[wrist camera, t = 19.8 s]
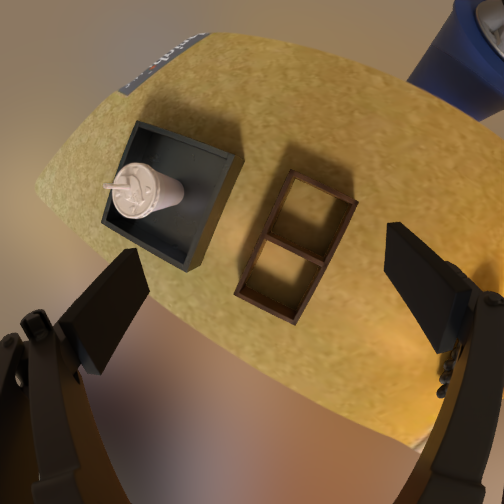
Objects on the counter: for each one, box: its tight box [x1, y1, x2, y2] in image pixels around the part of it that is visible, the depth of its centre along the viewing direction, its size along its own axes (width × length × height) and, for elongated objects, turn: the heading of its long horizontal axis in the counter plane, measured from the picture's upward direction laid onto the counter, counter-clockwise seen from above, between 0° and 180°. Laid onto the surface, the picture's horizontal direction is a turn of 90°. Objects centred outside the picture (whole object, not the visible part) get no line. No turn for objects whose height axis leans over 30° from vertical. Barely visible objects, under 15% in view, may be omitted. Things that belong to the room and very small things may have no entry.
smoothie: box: [103, 163, 184, 219], centre depth 32 cm, size 6×6×14 cm
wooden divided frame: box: [233, 169, 359, 325], centre depth 35 cm, size 9×17×4 cm, turn 155°
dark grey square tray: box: [101, 120, 245, 273], centre depth 37 cm, size 16×16×5 cm
